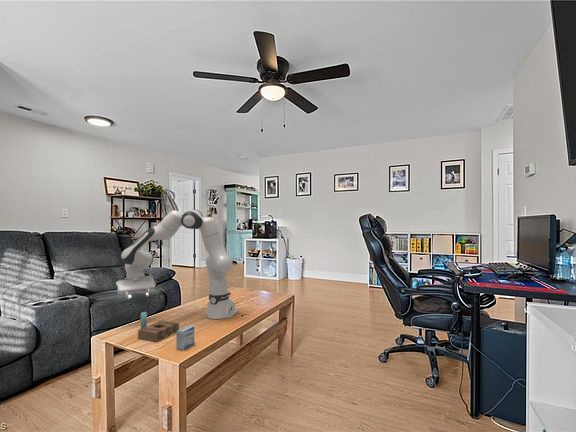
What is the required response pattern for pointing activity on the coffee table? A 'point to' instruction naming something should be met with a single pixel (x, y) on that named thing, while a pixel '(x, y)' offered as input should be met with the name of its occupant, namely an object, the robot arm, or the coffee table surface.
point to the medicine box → (185, 337)
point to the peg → (143, 319)
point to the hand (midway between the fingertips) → (138, 297)
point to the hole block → (158, 331)
